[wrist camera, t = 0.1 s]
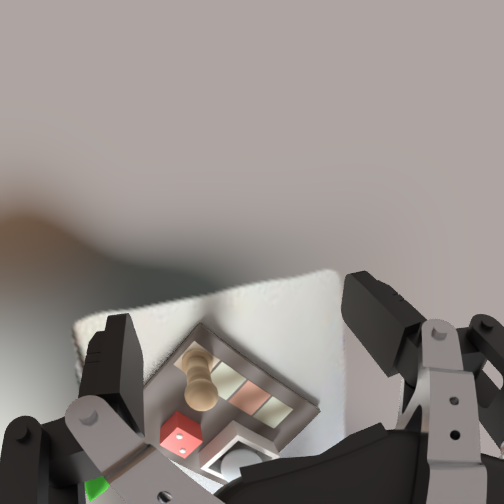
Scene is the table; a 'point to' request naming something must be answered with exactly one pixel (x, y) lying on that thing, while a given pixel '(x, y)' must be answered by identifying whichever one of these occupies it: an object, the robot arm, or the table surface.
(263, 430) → the board
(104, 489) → the gemstone
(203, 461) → the housing
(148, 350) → the table surface
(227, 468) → the white ball
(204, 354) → the pawn
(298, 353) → the table surface
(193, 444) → the die
